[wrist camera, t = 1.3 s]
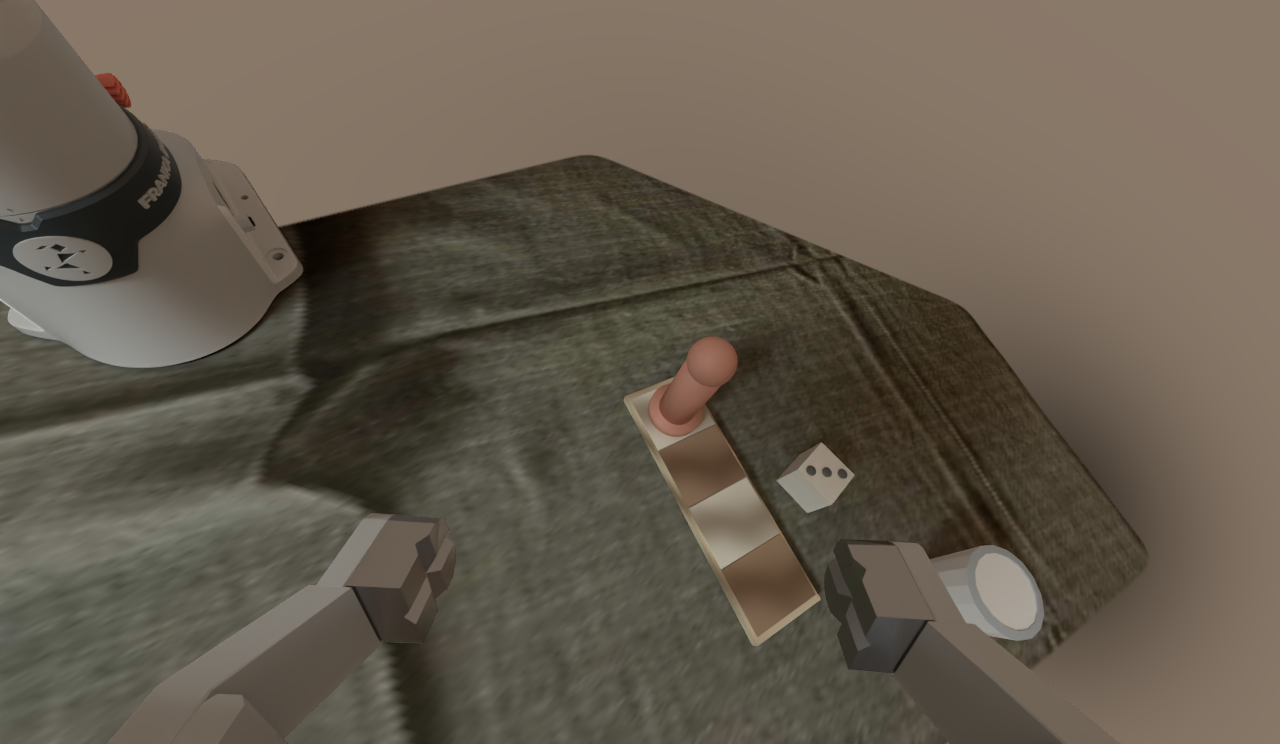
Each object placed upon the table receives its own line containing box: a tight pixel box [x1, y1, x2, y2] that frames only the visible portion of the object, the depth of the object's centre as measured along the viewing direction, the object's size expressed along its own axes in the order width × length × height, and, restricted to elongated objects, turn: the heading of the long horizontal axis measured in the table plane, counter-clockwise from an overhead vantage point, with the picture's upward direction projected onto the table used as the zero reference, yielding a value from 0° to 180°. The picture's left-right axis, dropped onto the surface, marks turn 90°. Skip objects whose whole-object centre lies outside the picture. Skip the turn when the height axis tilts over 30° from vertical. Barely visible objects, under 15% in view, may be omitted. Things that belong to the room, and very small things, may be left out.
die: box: [776, 442, 854, 513], centre depth 42 cm, size 4×4×4 cm
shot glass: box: [930, 545, 1044, 641], centre depth 39 cm, size 7×7×7 cm
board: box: [623, 377, 821, 646], centre depth 41 cm, size 23×7×1 cm, turn 28°
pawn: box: [648, 336, 738, 437], centre depth 38 cm, size 5×5×12 cm
